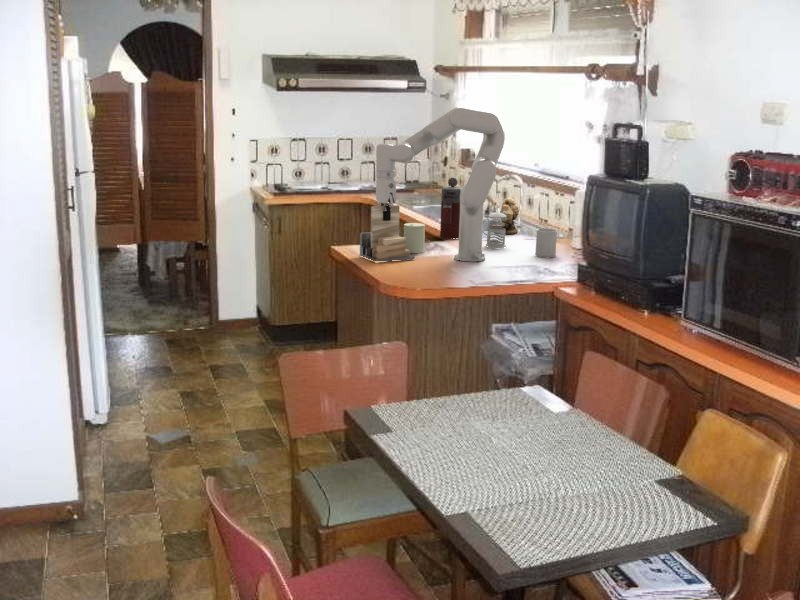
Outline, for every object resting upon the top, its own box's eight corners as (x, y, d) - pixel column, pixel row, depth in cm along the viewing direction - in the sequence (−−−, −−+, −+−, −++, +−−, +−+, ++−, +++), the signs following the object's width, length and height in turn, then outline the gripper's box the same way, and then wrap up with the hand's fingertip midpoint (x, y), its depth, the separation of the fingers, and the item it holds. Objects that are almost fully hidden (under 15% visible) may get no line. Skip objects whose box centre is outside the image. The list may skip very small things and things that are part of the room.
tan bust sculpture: (492, 228, 446) (494, 194, 442) (516, 229, 445) (518, 195, 441) (493, 234, 428) (495, 199, 424) (518, 235, 428) (520, 200, 424)
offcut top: (405, 244, 362) (405, 237, 362) (385, 246, 356) (385, 240, 356) (398, 242, 366) (398, 236, 365) (378, 244, 360) (378, 238, 360)
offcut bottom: (409, 256, 363) (409, 250, 362) (378, 258, 357) (378, 252, 356) (402, 253, 368) (402, 247, 368) (372, 256, 362) (372, 250, 361)
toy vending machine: (439, 238, 413) (441, 178, 407) (443, 235, 424) (445, 175, 417) (458, 240, 411) (460, 179, 405) (461, 236, 422) (464, 176, 415)
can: (399, 251, 380) (399, 223, 378) (409, 248, 388) (409, 221, 386) (418, 254, 376) (419, 225, 373) (428, 250, 384) (429, 223, 381)
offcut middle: (405, 250, 362) (405, 244, 361) (378, 252, 356) (378, 246, 356) (398, 248, 367) (399, 242, 366) (372, 250, 361) (372, 243, 361)
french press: (507, 248, 393) (510, 192, 387) (481, 248, 393) (484, 191, 387) (505, 244, 402) (508, 189, 396) (480, 244, 403) (482, 188, 397)
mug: (553, 258, 374) (555, 232, 372) (533, 256, 377) (534, 230, 374) (558, 253, 385) (560, 228, 382) (539, 251, 388) (540, 226, 385)
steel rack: (414, 260, 364) (415, 235, 361) (375, 263, 355) (375, 238, 353) (398, 253, 376) (399, 230, 373) (359, 256, 367) (360, 232, 365)
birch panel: (398, 248, 369) (399, 205, 365) (372, 250, 364) (373, 206, 359) (396, 248, 371) (397, 204, 367) (370, 250, 365) (370, 206, 361)
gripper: (403, 176, 355) (402, 222, 359) (384, 172, 369) (384, 217, 373) (386, 177, 351) (385, 223, 356) (368, 173, 365) (368, 218, 369)
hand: (385, 219), depth 364 cm, fingers closed on birch panel, 2 cm apart
